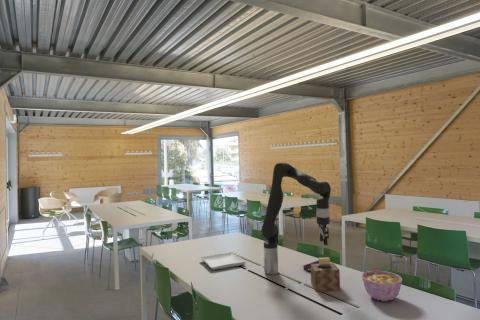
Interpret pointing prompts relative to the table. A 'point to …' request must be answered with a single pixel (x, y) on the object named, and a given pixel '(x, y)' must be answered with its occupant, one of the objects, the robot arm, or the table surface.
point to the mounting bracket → (310, 264)
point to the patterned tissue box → (325, 278)
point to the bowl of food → (382, 284)
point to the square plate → (223, 260)
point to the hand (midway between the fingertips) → (323, 243)
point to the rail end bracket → (324, 262)
